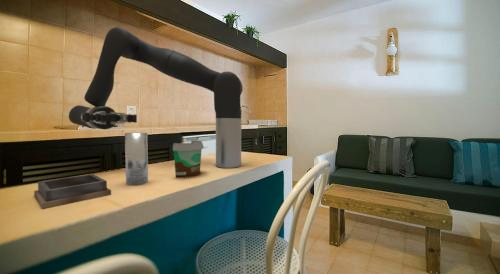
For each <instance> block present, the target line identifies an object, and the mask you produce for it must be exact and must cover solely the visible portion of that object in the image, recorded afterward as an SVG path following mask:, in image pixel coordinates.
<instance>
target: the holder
mask: <svg viewBox="0 0 500 274" xmlns="http://www.w3.org/2000/svg"><path fill="white" fill-rule="evenodd" d="M33 194H34V197H35V199H36V200H37V201H38V204H39V205H40V207H41V208H42V210H44V209H47V208H48V209H49V208H53V207H58V206H62V205H68V204H73V203H77V202H81V201H87V200H92V199H96V198H101V197H105V196H111V195H112V189H110V188H108V184H107V180H105V179H104V178H102V177H100V176H98V175H95V174H94V173H90V174H83V175H75V176H68V177H62V178H61V177H60V178H55V179H48V180H41V181H37V190H34V191H33Z"/></svg>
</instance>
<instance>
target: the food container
mask: <svg viewBox="0 0 500 274" xmlns="http://www.w3.org/2000/svg"><path fill="white" fill-rule="evenodd" d="M204 148H205V147H204V143H203V140H195V139H193V140H190V142H182V143H178V142H177V143H175V142H174V143H173V145H172V152H173V161H174V171H175V178H177V179H180V178H181V179H182V178H191V177H193V178H194V177H196V176H199V175H201V163H202V150H203V149H204Z"/></svg>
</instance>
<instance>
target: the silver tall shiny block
mask: <svg viewBox="0 0 500 274" xmlns="http://www.w3.org/2000/svg"><path fill="white" fill-rule="evenodd" d="M148 147H149V146H148V132H124V153H125V155H124V156H125V184H126V185H127V186H140V185H145V184H147V183H149V156H148V155H149V154H148V153H149V152H148V151H149V150H148Z"/></svg>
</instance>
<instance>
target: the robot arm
mask: <svg viewBox="0 0 500 274" xmlns="http://www.w3.org/2000/svg"><path fill="white" fill-rule="evenodd" d="M121 57H122V58H125V59H128V60H132V61H136V62H139V63H143V64H146V65H148V66H149V67H150V66H151V67H152V68H153V69H155V70H156V71H159V72H160V73H162V74H164V75H166V76H169V77H171V78H173V79H175V80H179V81H181V82H184V83H187V84H190V85H194V86H197V87H200V88H204V89H206V90H208V91H210V92H212V93H213V107H214V113H215V166H216V167H218V168H225V169H226V168H227V169H228V168H229V169H230V168H231V169H232V168H238V167H241V166H242V107H241V95H242V93H243V87H244V86H243V83H242V81H241V80H240V78H239V77H238V75H237V74H235V73H234V72H232V71H223V72H221V71H220V72H219V71H216V70H213V69H211V68H209V67H208V66H206V65H204V64H203V63H200V62H199V61H197V60H196V59H194V58H192V57H190V56H188V55H186V54H184V53H181V52H179V51H176V50H173V49H171V48H166V47H165V48H164V47H158V46H155V45H152V44H150V43H148V42H146V41H145V40H143V39H141V38H139V37H138V36H136V35H135V34H133V33H131V32H130V31H128V30H127V29H124V28H122V27H119V26H115V27H112V28H110V29H109V30H108V32H106V35H105V38H104V41H103V43H102V48H101V52H100V55H99V59H98V63H97V67H96V70H95V73H94V75H93V77H92V80H91V82H90V84H89V86H88V88H87V90H86V92H85V95H84V97H83V98H84V101H85V102H87V103H88V104H90V105H91V106H93V107H89V106H84V105H75V106H73V107H72V108H71V109H70V111H69V112H68V120H69V121H70V122H71V123H72V124H75V125H78V126H82V127H86V128H89V129H97V130H109V129H112V128H113V127H115V126H116V125H117V124H118V125H120V124H123V125H124V124H126V123H131V124H132V123H134V124H135V123H137V122H138V119H137V118H138V115H137V114H135V113H134V114H130V113H128V114H126V113H125V112H117V111H115V109H113V108H112V107H110V106H106V104H107V102H108V99H109V98H110V96H111V94H112V91H113V89H114V84H115V71H116V70H115V68H116V66H117V63H118V61H119V60H120V58H121Z"/></svg>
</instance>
